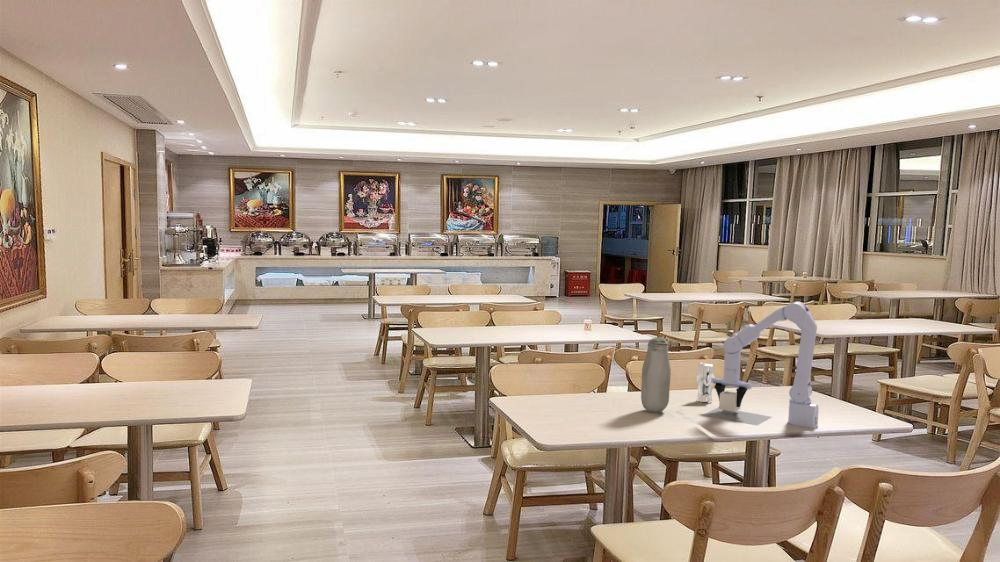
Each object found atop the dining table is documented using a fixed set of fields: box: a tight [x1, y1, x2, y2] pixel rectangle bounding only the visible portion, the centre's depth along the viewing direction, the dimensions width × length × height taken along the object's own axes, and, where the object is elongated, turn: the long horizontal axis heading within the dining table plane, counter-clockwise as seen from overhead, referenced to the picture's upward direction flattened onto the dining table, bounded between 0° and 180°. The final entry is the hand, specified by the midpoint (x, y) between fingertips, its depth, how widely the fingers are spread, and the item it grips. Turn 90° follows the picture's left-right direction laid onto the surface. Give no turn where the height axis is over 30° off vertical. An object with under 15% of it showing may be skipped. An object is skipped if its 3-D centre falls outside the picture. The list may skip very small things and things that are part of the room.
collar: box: [718, 390, 741, 412], centre depth 270 cm, size 6×6×6 cm
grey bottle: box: [640, 336, 672, 413], centre depth 272 cm, size 10×10×28 cm
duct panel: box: [702, 406, 772, 426], centre depth 266 cm, size 20×16×1 cm
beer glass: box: [696, 362, 716, 403], centre depth 292 cm, size 7×7×15 cm
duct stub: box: [723, 410, 736, 414], centre depth 270 cm, size 4×4×5 cm
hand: (729, 405), depth 270 cm, fingers closed on collar, 6 cm apart
